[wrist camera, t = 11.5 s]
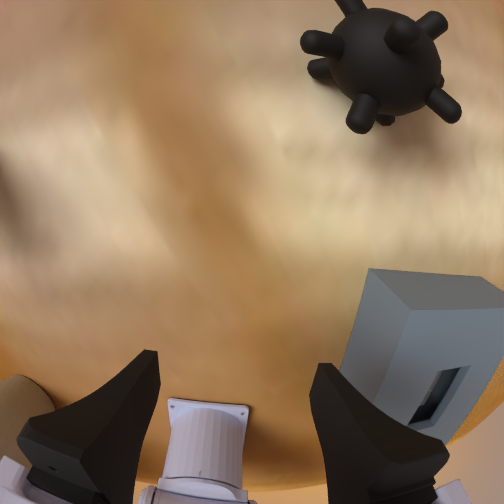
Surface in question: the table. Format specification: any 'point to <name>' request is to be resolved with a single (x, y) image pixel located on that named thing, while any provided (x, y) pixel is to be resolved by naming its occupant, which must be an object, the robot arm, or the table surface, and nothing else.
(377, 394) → the grey square hole block
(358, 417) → the robot arm
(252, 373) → the table surface
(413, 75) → the toy ball
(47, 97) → the table surface
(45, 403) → the plant pot
